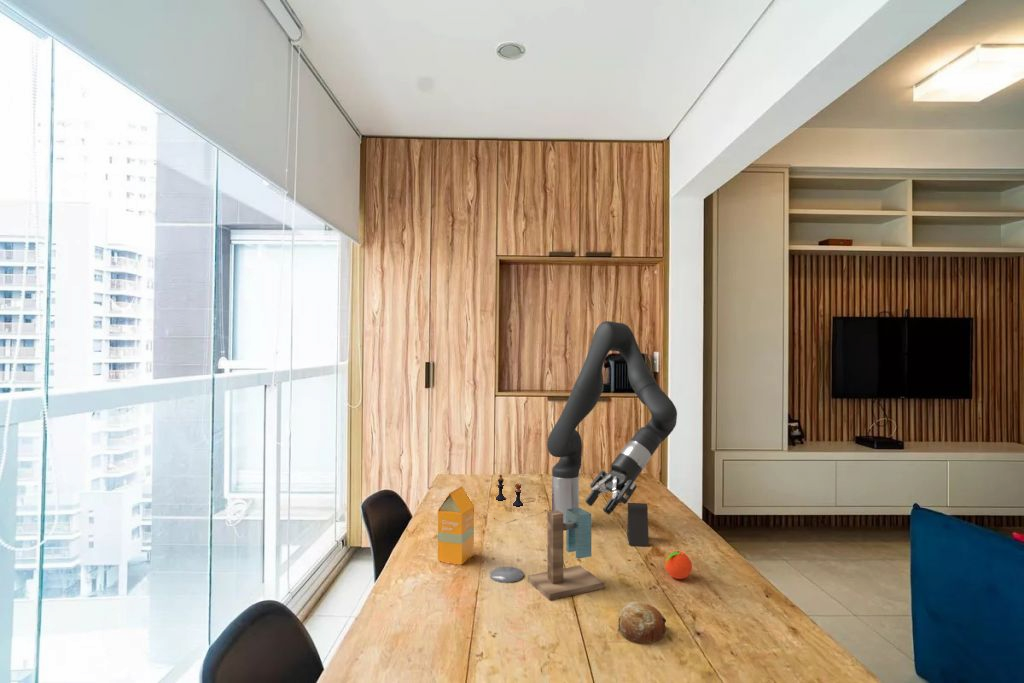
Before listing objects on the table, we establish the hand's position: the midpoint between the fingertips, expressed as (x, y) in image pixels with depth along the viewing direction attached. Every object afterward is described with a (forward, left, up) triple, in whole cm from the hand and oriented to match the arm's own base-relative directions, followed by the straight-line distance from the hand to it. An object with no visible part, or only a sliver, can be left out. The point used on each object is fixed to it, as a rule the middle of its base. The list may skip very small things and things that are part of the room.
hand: (596, 508), depth 144 cm
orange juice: (-29, -30, -19) cm, 46 cm away
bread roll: (+27, -6, -19) cm, 34 cm away
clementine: (+9, +19, -19) cm, 29 cm away
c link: (0, -6, -11) cm, 13 cm away
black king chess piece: (-77, +9, -20) cm, 80 cm away
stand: (0, -10, -19) cm, 21 cm away
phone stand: (-18, +27, -19) cm, 38 cm away
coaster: (-12, -21, -19) cm, 30 cm away
